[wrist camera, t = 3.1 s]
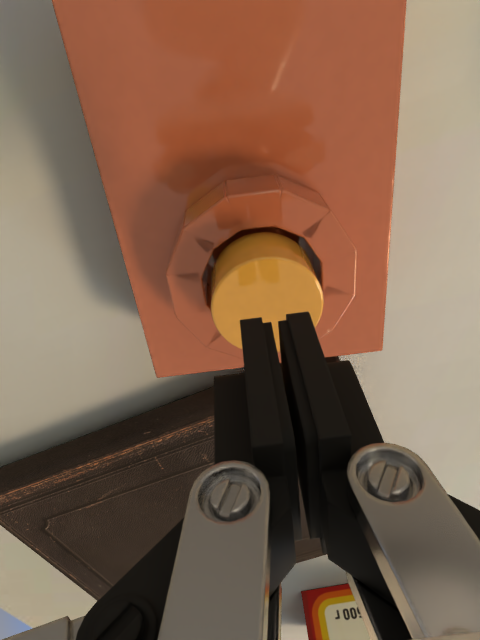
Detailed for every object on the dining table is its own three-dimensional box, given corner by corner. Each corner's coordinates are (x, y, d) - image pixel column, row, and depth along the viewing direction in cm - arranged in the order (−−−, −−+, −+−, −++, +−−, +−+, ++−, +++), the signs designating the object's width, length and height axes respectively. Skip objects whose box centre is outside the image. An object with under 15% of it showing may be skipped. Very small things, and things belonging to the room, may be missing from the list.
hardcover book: (398, 501, 33) (409, 530, 31) (120, 585, 37) (115, 615, 35) (329, 336, 25) (339, 362, 23) (-17, 467, 29) (-34, 499, 27)
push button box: (84, -2, 16) (25, -15, 11) (367, -42, 16) (439, -73, 11) (165, 326, 24) (152, 407, 19) (357, 302, 23) (396, 377, 18)
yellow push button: (203, 238, 15) (202, 265, 14) (311, 224, 15) (323, 250, 13) (218, 327, 17) (219, 360, 15) (313, 315, 17) (325, 347, 15)
